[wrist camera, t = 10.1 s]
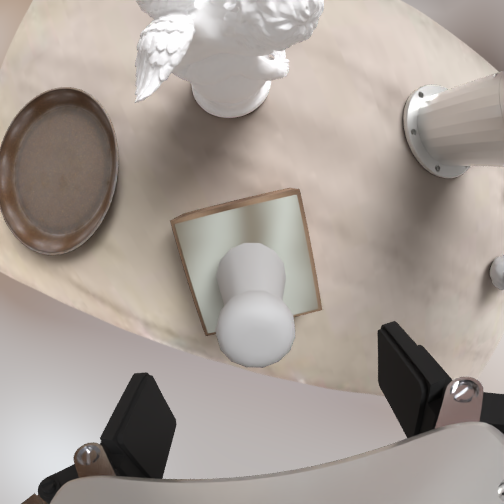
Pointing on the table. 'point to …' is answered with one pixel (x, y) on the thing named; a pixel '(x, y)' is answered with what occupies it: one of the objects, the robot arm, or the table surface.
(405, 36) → the table surface
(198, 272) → the square box
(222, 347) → the salt shaker
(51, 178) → the plant saucer
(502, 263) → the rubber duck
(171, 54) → the cherub figurine
